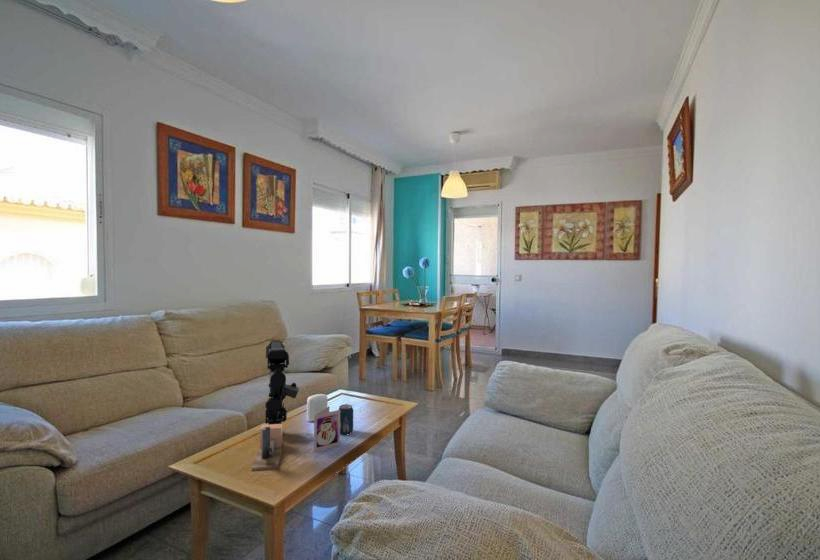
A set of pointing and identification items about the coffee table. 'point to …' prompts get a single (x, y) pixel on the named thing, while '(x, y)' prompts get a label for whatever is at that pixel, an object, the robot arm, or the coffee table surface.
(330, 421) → the greeting card
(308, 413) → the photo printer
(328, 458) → the coffee table surface
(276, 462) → the base board
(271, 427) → the socket
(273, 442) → the grey rectangular block
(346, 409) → the soda can
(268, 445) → the black handled metal tool
